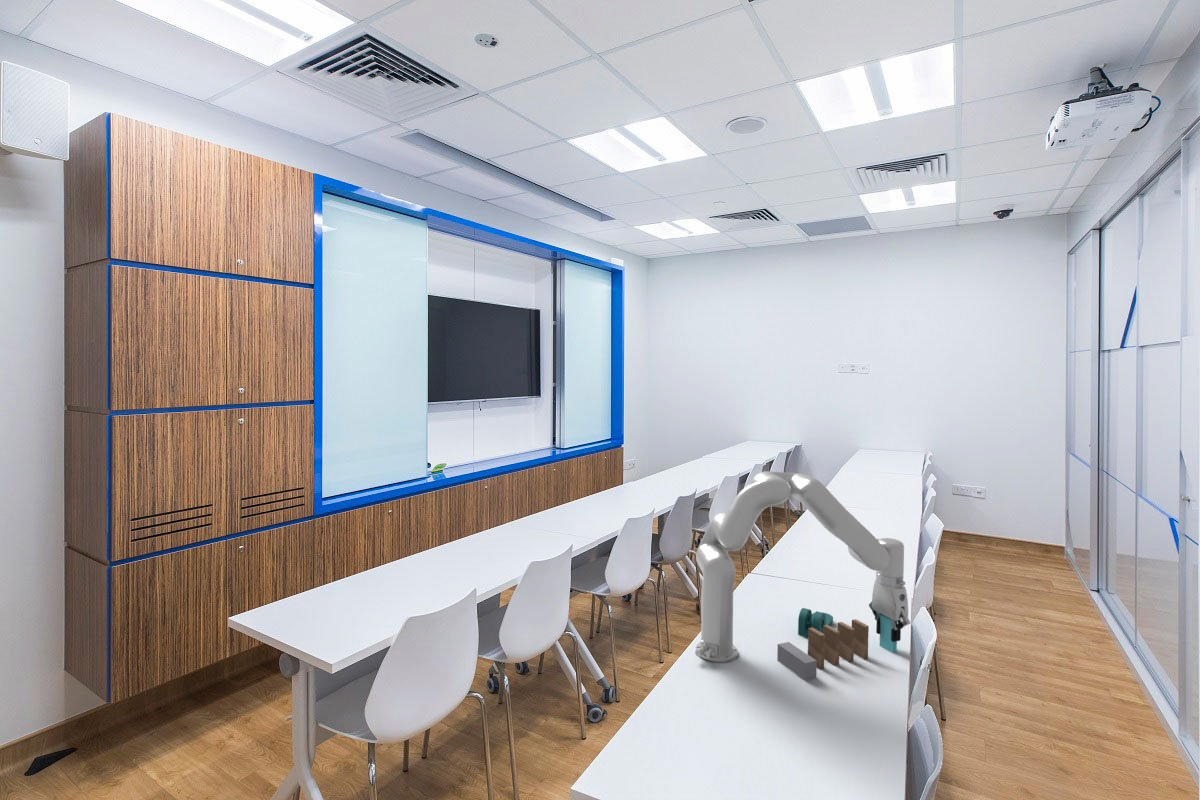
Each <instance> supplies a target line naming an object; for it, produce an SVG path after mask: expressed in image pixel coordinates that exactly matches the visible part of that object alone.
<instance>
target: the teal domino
mask: <svg viewBox="0 0 1200 800" xmlns="http://www.w3.org/2000/svg"><path fill="white" fill-rule="evenodd" d="M896 623H897V624H898V621H896ZM891 629H893V625H892V620H891V618H889V617H887V616H885V615H882V614H880V634H879V647H881V648H883V649H885V650H886V651H889V652H890V653H893V654H894V652H895V653H897V651H898V647H897V643H898V641H896V642H892V641H891Z"/></svg>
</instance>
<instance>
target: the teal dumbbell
mask: <svg viewBox="0 0 1200 800" xmlns="http://www.w3.org/2000/svg"><path fill="white" fill-rule="evenodd" d="M798 614H799V615H798V618H797V619H798V621H797V623H798V625H797V626H798V627H797V635H798V636H802V637H804V636H805V637H804V638H808V628H814V629H816V630H818V631H819V632H821V633H823V626H824V625H829V626H830V627H832V626H833V625H834V617H833V615H831V614H829V613H827V612H823V611H821V612H820V611H815V612H812V609H809V608H805V607H802V608H801V609H800V610H799V613H798Z"/></svg>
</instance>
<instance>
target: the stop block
mask: <svg viewBox="0 0 1200 800" xmlns="http://www.w3.org/2000/svg"><path fill="white" fill-rule="evenodd" d="M776 652H777V655H776V656H777V657H776V658H777V662H779V663H780V664H782V665H783V666H784V667H785V668H787V669H788V670H790V671H791V672H793V673H794V674H796V676H798V677H799V678H800V679H802V680H803V681H809V680H814V679H817V669H818V668H817V661H816V660H815V659H813V658H812V657H810V656H809V655H808V653H806V652H804V651H803V650H802V649H800V648H799V647H797V646H796V645H795V644H793V643H791V642H790V641H787V642H781V643H778V644H777V651H776Z"/></svg>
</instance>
